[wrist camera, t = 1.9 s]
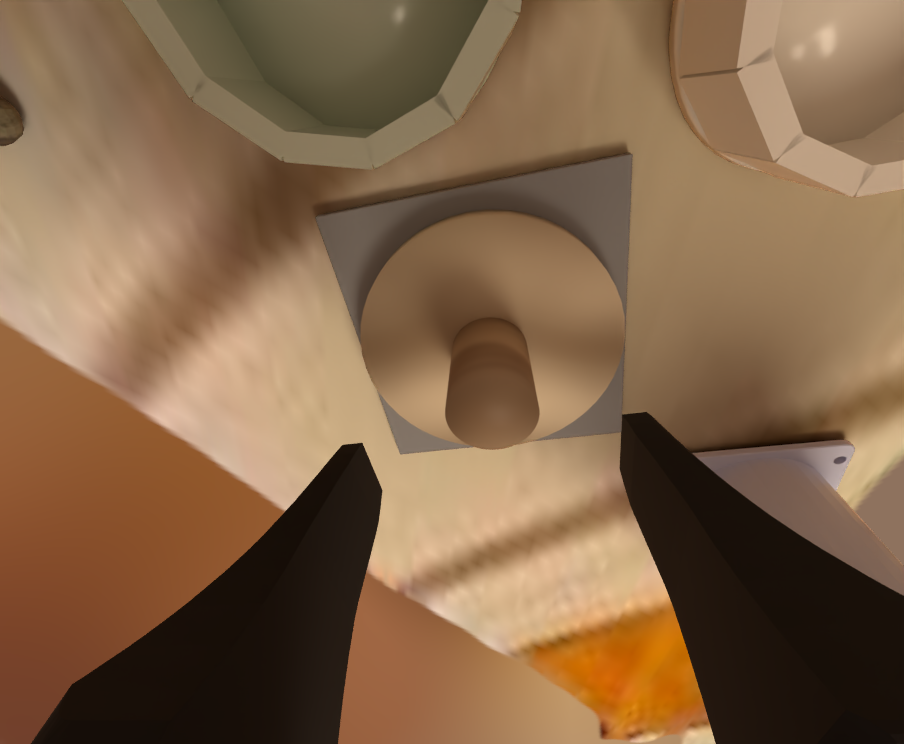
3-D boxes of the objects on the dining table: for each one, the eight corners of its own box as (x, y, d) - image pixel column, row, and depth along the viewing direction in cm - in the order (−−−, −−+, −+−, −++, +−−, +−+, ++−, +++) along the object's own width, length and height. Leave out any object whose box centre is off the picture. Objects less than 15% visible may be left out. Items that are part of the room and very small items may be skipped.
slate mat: (618, 426, 20) (621, 432, 20) (401, 448, 22) (400, 454, 21) (628, 152, 13) (632, 154, 13) (318, 214, 15) (315, 217, 15)
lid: (615, 420, 19) (652, 508, 15) (402, 442, 21) (382, 528, 17) (621, 182, 14) (683, 216, 9) (330, 237, 15) (274, 288, 11)
